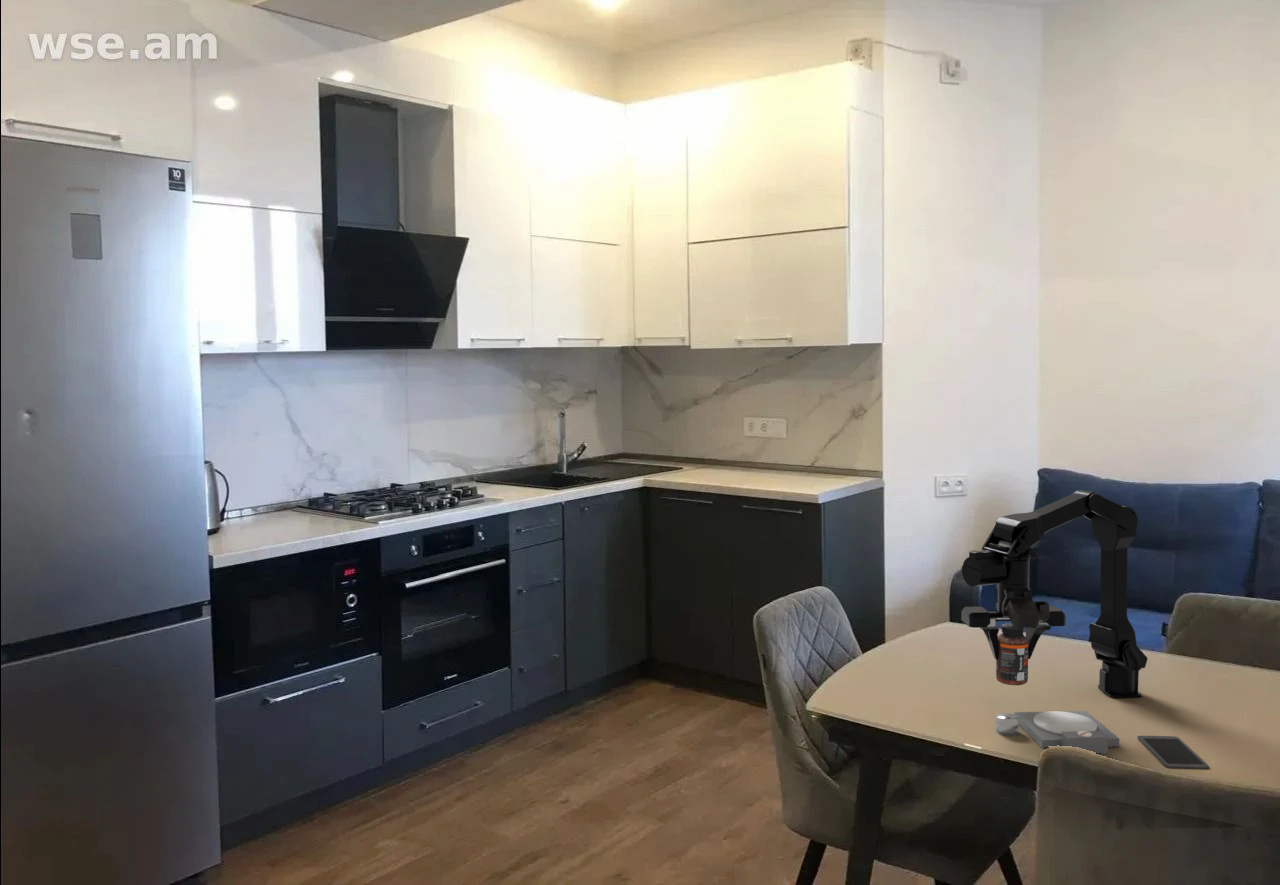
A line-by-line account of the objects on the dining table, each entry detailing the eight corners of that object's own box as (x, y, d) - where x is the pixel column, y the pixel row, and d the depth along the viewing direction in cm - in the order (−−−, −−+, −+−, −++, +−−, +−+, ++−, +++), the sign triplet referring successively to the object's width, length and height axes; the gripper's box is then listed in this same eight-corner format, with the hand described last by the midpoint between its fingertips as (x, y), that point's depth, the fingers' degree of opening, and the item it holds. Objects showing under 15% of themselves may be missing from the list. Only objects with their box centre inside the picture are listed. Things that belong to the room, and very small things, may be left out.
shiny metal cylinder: (1013, 728, 196) (1013, 712, 196) (1021, 736, 192) (1021, 720, 192) (992, 728, 196) (992, 713, 196) (999, 736, 192) (1000, 720, 192)
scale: (1086, 718, 200) (1086, 701, 200) (1127, 753, 183) (1127, 735, 183) (1014, 719, 200) (1014, 703, 200) (1048, 754, 183) (1048, 736, 183)
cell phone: (1177, 739, 189) (1177, 735, 189) (1211, 771, 176) (1211, 767, 176) (1135, 738, 190) (1135, 734, 190) (1166, 770, 176) (1166, 766, 176)
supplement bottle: (1030, 687, 200) (1031, 630, 199) (998, 685, 201) (998, 629, 200) (1025, 677, 206) (1025, 622, 204) (994, 676, 207) (994, 621, 206)
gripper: (979, 592, 193) (978, 672, 195) (1078, 590, 193) (1076, 671, 195) (960, 578, 204) (960, 655, 206) (1054, 576, 204) (1053, 653, 206)
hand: (1012, 658), depth 203 cm, fingers closed on supplement bottle, 6 cm apart
